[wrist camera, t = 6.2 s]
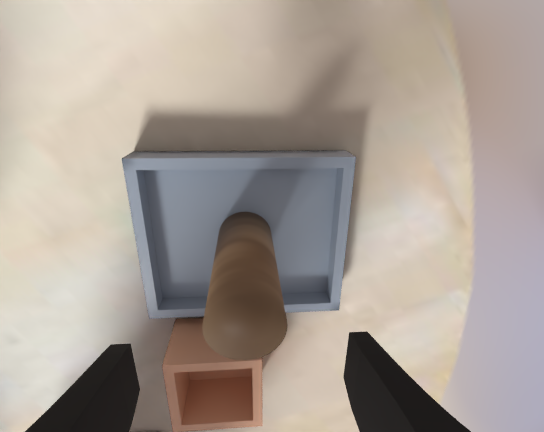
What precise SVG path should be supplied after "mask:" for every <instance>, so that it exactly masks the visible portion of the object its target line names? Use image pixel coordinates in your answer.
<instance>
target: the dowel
mask: <svg viewBox="0 0 544 432" xmlns="http://www.w3.org/2000/svg"><path fill="white" fill-rule="evenodd" d="M202 331H203V336H204V339H205V341H206V342H207V344H208V345H209V347H210V348H211V349H212V350H214V351H215V352H216V353H218V354H220V355H222V356H224V357H227V358H230V359H234V360H252V359H257V358H260V357H263V356H265V355H267V354H269V353H271V352H272V351H273V350H275V349H276V348H277V347H278V346H279V345H280V344H281V342H282V341H283V339H284V337H285V335H286V331H287V319H286V314H285V308H284V302H283V297H282V291H281V285H280V280H279V274H278V269H277V263H276V257H275V252H274V246H273V240H272V235H271V229H270V227H269V225H268V223H267V222H266V220H265V219H264V218H262V217H261V216H259V215H258V214H255V213H252V212H238V213H235V214H233V215H231V216H229V217H228V218H227V219H225V221H224V222H223V223H222V225H221V227H220V230H219V234H218V240H217V246H216V251H215V257H214V263H213V268H212V274H211V279H210V285H209V291H208V296H207V302H206V307H205V313H204V319H203V324H202Z"/></svg>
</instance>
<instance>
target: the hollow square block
mask: <svg viewBox="0 0 544 432" xmlns="http://www.w3.org/2000/svg"><path fill="white" fill-rule="evenodd" d="M203 319H204V318H182V319H176V320H175V323H174V327H173V330H172V334H171V337H170V340H169V344H168V347H167V351H166V354H165V357H164V361H163V364H162V368H163V374H164V381H165V387H166V393H167V399H168V405H169V411H170V417H171V423H172V429H173V432H184V431H198V430H212V429H226V428H240V427H254V426H262V357H260V358H257V359H252V360H234V359H230V358H227V357H224V356H222V355H220V354H218V353H216V352H215V351H214V350H212V349H211V348H210V347H209V345H208V344H207V342H206V341H205V339H204V336H203V331H202V324H203Z"/></svg>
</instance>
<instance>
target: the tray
mask: <svg viewBox="0 0 544 432" xmlns="http://www.w3.org/2000/svg"><path fill="white" fill-rule="evenodd" d="M355 161H356V157H355V156H354V155H352V154H351V153H349V152H348V151H346V150H338V151H153V152H132V153H130V154H129V155H127V156H125V157H124V158H122V163H123V169H124V175H125V180H126V186H127V192H128V198H129V204H130V209H131V215H132V221H133V227H134V233H135V239H136V244H137V250H138V256H139V262H140V268H141V273H142V279H143V285H144V291H145V297H146V302H147V308H148V314H149V319H152V318H175V317H197V316H204V313H205V307H206V302H207V296H208V291H209V285H210V279H211V274H212V268H213V263H214V257H215V251H216V246H217V240H218V234H219V230H220V227H221V225H222V223H223V222H224V221H225V219H227V218H228V217H229V216H231V215H233V214H235V213H238V212H252V213H255V214H258V215H259V216H261V217H262V218H264V219H265V220H266V222H267V223H268V225H269V227H270V229H271V235H272V240H273V246H274V252H275V257H276V263H277V269H278V274H279V280H280V285H281V291H282V297H283V302H284V308H285V313H287V312H310V311H332V310H339V305H340V296H341V287H342V278H343V269H344V260H345V251H346V242H347V233H348V224H349V215H350V206H351V197H352V188H353V179H354V170H355Z"/></svg>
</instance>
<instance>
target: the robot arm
mask: <svg viewBox="0 0 544 432" xmlns="http://www.w3.org/2000/svg"><path fill="white" fill-rule="evenodd" d="M344 381H345V385H346V389H347V393H348V397H349V401H350V405H351V408H352V411H353V414H354V417H355V420H356V423H357V425H358V428H359V431H360V432H471V431H469V430H468V429H467V428H466V427H465V426H463V425H462V424H461V423H460V422H458V421H457V420H456V419H455V418H454V417H453V416H451V415H450V414H449V413H448V412H447V411H446V410H444V408H442V407H441V406H440V405H439V404H438V403H437V402H436V401H435V400H434V399H433V398H432V397H431V396H429V395H428V394H427V393H426V392H425V391H424V390H423V389H422V388H421V387H420V386H419V385H418V384H417V383H416V382H415V381H414V380H413V379H412V378H411V377H410V376H409V375H408V374H407V373H406V372H405V371H404V370H403V369H402V368H401V367H400V366H399V365H398V364H397V363H396V362H395V361H394V360H393V359H392V358H391V357H390V355H389V354H388V353H387V352H386V351H385V350H384V349H383V348H382V347H381V346H380V345H379V344H378V343H377V342H376V341H375V339H374V338H373V337H372V336H371V335H370V334H369V333H368V332H350V333H349V339H348V347H347V355H346V363H345V370H344ZM139 391H140V388H139V383H138V378H137V373H136V368H135V363H134V359H133V354H132V349H131V344H114V345H110V346H109V347H108V348H107V349H106V350H105V351H104V352H103V353H102V354H101V355H100V356H99V357H98V358H97V360H96V361H95V362H94V363H93V364H92V365H91V366H90V367H89V368H88V369H87V370H86V371H85V372H84V373H83V374H82V375H81V376H80V378H79V379H78V380H77V381H76V382H75V383H74V384H73V385H72V386H71V387H70V388H69V389H68V390H67V391H66V392H65V393H64V394H63V395H62V396H61V397H60V398H59V399H58V400H57V401H56V402H55V403H54V404H53V405H52V406H51V407H50V408H49V409H48V410H47V411H46V412H45V413H44V414H43V415H42V416H41V417H40V418H39V419H38V420H37V421H36V422H35V423H34V424H33V425H32V426H30V427H29V428H28V429H27V430H26V431H25V432H129V430H130V427H131V424H132V420H133V416H134V412H135V408H136V404H137V400H138V396H139Z"/></svg>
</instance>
